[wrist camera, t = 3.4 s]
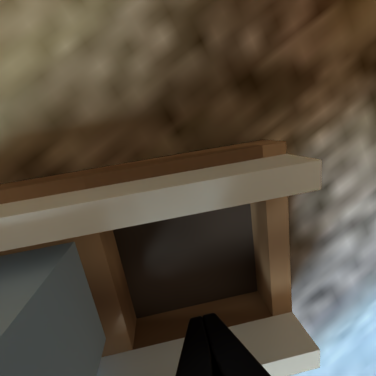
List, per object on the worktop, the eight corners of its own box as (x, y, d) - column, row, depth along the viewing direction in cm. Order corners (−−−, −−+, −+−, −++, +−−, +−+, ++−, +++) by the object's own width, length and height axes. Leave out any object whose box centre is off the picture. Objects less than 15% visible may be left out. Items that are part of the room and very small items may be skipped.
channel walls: (292, 327, 11) (319, 367, 9) (7, 397, 10) (-28, 459, 8) (286, 153, 9) (321, 159, 7) (-86, 219, 8) (-168, 248, 6)
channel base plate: (273, 305, 13) (292, 334, 11) (-187, 414, 11) (-258, 472, 9) (263, 139, 11) (286, 141, 9) (-340, 241, 9) (-483, 273, 7)
